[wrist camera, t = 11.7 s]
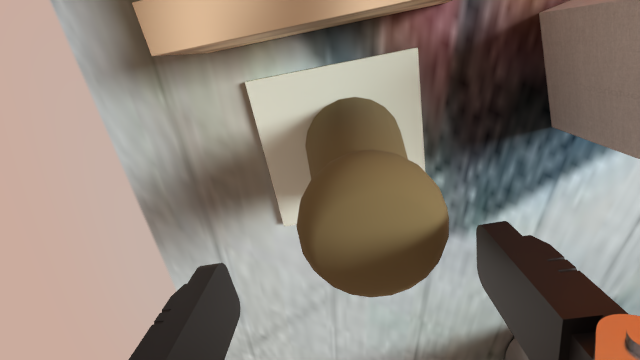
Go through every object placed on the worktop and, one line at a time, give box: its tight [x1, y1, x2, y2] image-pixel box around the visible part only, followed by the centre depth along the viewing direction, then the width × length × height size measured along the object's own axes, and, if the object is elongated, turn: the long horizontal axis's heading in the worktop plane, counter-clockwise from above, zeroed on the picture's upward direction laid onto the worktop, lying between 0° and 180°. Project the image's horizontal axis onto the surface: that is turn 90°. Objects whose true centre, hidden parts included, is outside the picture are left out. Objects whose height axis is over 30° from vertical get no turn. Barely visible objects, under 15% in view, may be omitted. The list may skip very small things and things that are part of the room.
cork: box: [297, 97, 449, 297], centre depth 14 cm, size 6×6×11 cm
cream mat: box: [245, 48, 425, 226], centre depth 20 cm, size 10×10×1 cm
